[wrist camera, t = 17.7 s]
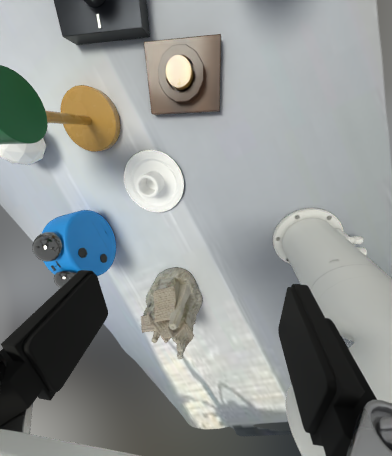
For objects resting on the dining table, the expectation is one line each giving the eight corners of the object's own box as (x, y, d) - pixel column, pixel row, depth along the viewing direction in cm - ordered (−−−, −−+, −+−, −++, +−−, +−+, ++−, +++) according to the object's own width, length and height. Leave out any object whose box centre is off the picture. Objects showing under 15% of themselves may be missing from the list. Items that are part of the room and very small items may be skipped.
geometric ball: (37, 136, 41) (-18, 112, 34) (57, 129, 37) (0, 101, 30) (32, 172, 40) (-25, 155, 33) (51, 169, 36) (-9, 150, 29)
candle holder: (174, 219, 42) (169, 227, 38) (121, 198, 41) (110, 205, 37) (192, 163, 36) (189, 167, 32) (131, 139, 36) (120, 140, 32)
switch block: (221, 39, 28) (220, 27, 25) (219, 111, 32) (219, 109, 29) (147, 46, 30) (138, 36, 27) (154, 114, 34) (147, 112, 31)
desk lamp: (113, 85, 33) (-57, 13, 13) (125, 150, 37) (10, 169, 17) (59, 89, 34) (-169, 29, 14) (76, 151, 38) (-81, 170, 19)
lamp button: (193, 57, 27) (190, 53, 26) (193, 89, 29) (192, 86, 27) (167, 60, 28) (164, 55, 26) (169, 90, 29) (166, 88, 28)
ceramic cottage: (194, 266, 46) (176, 323, 33) (207, 314, 53) (197, 376, 40) (135, 269, 50) (99, 321, 37) (155, 313, 57) (130, 369, 44)
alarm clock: (76, 206, 44) (10, 239, 30) (99, 200, 42) (41, 231, 29) (103, 255, 49) (57, 302, 35) (125, 251, 47) (85, 298, 34)
